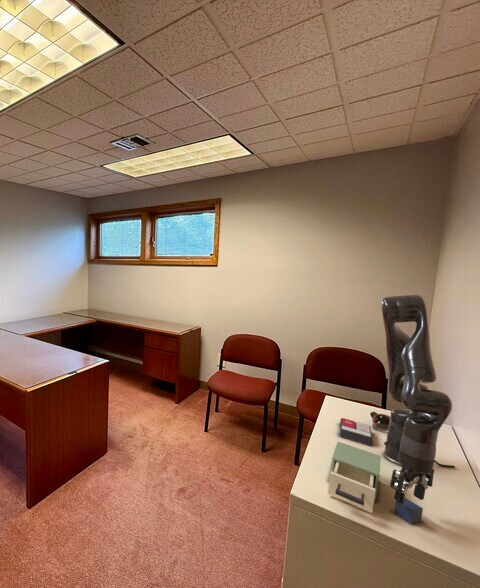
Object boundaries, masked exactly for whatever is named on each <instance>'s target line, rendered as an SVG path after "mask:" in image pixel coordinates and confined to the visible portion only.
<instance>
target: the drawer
mask: <svg viewBox="0 0 480 588" xmlns="http://www.w3.org/2000/svg"><path fill="white" fill-rule="evenodd" d="M330 471H331V470H330ZM330 471H329V472H330ZM329 478H330V479H328V487H327V495H329V496H332V497H334V498H337V499H339V500H341V501H343V502H346V503H348V504H350V505H351V506H352V505H353V506H354V507H357V508H359V509H362V510H364V511H366V512H369V513H371V514H373V511H374V503H375V501H374V498H375V491H376V489H375V488H373V480H374V475H372V474H370V473H367V472H364V471H361V470H359V469H356V468H353V467H351V466H348V465H345V464H343V463H340V462H336V465H335V469H334V472H332V471H331V472H330V473H329Z"/></svg>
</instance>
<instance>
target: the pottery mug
mask: <svg viewBox="0 0 480 588" xmlns="http://www.w3.org/2000/svg"><path fill="white" fill-rule="evenodd" d="M369 415H370V417H371V420H372V425H371V428H372V429H373V430H376V429H377V430H381V431H388V428H389V421H390V415H388V414H385V413H378V412H376V411H371V412H370V413H369Z"/></svg>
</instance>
